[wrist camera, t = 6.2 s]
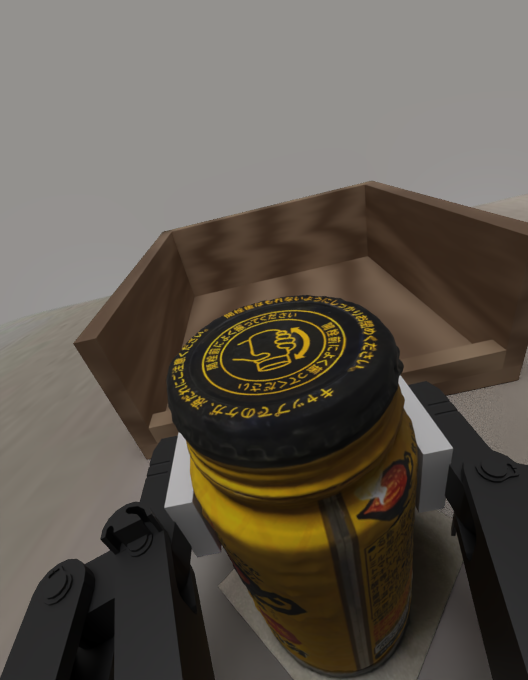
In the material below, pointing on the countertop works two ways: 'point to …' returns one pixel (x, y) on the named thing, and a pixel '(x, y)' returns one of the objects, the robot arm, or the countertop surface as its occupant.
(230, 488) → the condiment
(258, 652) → the countertop surface
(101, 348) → the tray
